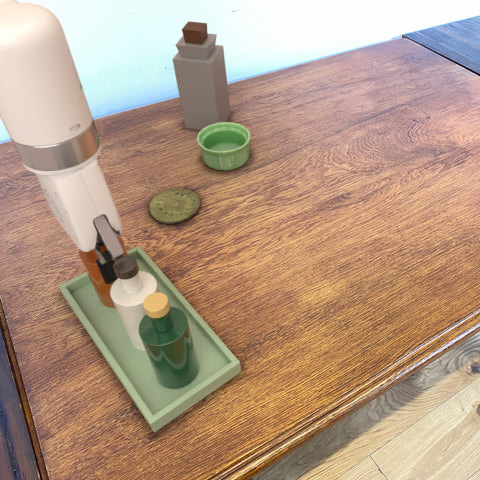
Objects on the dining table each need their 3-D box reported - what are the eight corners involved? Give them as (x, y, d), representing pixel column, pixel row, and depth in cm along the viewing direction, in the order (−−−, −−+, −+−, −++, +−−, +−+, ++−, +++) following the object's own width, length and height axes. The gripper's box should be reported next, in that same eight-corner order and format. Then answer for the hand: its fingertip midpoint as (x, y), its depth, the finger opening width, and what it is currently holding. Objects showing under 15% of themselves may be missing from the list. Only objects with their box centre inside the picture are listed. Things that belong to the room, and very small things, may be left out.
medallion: (186, 228, 77) (185, 225, 76) (139, 217, 78) (138, 213, 78) (209, 195, 82) (208, 192, 82) (164, 185, 84) (164, 182, 83)
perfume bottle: (220, 132, 95) (207, 36, 82) (185, 127, 96) (167, 32, 83) (230, 112, 100) (220, 19, 87) (197, 109, 100) (182, 16, 88)
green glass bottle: (147, 367, 60) (120, 299, 51) (185, 343, 62) (165, 274, 53) (169, 397, 57) (144, 331, 48) (207, 372, 60) (190, 303, 50)
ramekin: (262, 152, 91) (261, 131, 88) (231, 179, 85) (228, 158, 82) (222, 137, 94) (219, 116, 91) (189, 162, 88) (185, 140, 85)
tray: (63, 295, 68) (57, 285, 66) (142, 255, 73) (139, 245, 72) (154, 432, 55) (150, 424, 54) (241, 371, 61) (240, 362, 59)
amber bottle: (91, 290, 68) (64, 231, 60) (128, 271, 70) (106, 211, 62) (109, 314, 65) (83, 256, 57) (146, 294, 67) (126, 235, 60)
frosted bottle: (122, 332, 63) (91, 261, 54) (158, 310, 66) (135, 239, 56) (141, 359, 61) (113, 289, 51) (178, 336, 63) (158, 265, 54)
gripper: (-12, 116, 53) (50, 239, 66) (53, 200, 44) (109, 323, 57) (60, 93, 57) (105, 214, 70) (133, 166, 48) (169, 289, 61)
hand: (106, 262), depth 63 cm, fingers closed on amber bottle, 5 cm apart
